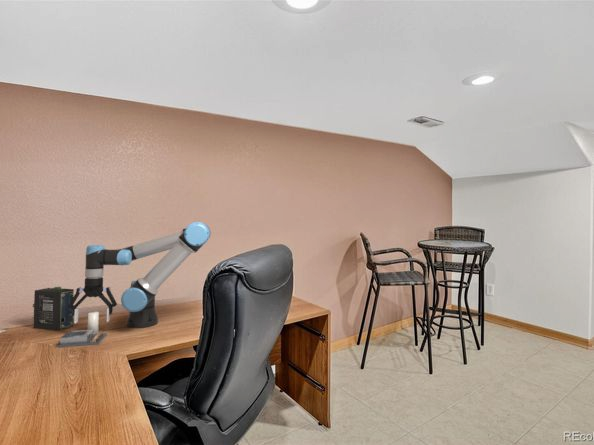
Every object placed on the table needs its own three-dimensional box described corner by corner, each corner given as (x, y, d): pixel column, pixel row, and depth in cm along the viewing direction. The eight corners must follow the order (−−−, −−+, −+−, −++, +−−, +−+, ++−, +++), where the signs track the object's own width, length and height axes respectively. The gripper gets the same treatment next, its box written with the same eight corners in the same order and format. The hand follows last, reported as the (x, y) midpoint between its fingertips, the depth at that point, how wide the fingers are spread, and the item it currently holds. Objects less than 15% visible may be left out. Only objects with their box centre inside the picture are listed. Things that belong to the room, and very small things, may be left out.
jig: (106, 335, 159) (106, 327, 159) (98, 344, 146) (99, 336, 146) (67, 337, 154) (67, 330, 154) (56, 347, 142) (56, 339, 142)
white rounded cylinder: (99, 331, 164) (99, 311, 164) (96, 334, 160) (97, 313, 160) (89, 332, 163) (89, 311, 163) (86, 335, 158) (86, 313, 159)
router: (61, 330, 165) (62, 289, 165) (30, 328, 168) (32, 288, 169) (75, 326, 172) (76, 287, 173) (45, 323, 176) (46, 285, 176)
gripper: (124, 276, 169) (122, 318, 168) (67, 276, 162) (65, 321, 161) (121, 278, 161) (119, 322, 161) (61, 278, 154) (59, 325, 154)
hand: (92, 322), depth 161 cm, fingers open, 13 cm apart
